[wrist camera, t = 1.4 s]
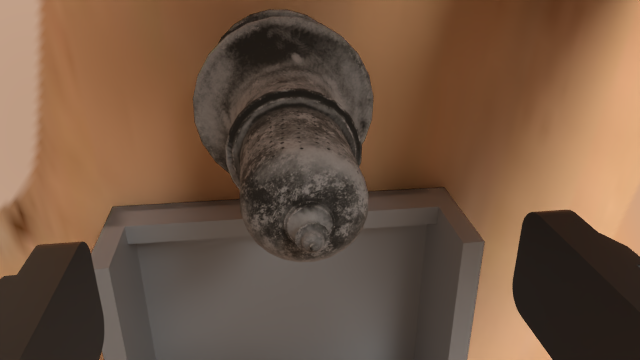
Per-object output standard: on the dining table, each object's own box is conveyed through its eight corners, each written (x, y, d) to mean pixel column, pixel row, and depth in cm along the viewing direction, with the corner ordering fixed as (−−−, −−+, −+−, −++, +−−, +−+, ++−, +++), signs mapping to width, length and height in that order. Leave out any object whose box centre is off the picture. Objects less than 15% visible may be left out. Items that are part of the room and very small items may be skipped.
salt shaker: (292, 177, 23) (335, 406, 12) (169, 95, 21) (91, 285, 10) (385, 66, 21) (527, 216, 11) (262, -35, 19) (285, 25, 9)
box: (112, 206, 22) (83, 269, 18) (444, 187, 24) (484, 241, 20) (151, 417, 28) (136, 502, 24) (422, 389, 29) (451, 465, 25)
